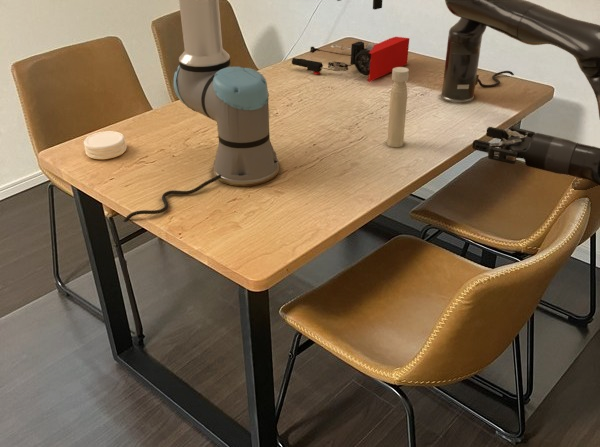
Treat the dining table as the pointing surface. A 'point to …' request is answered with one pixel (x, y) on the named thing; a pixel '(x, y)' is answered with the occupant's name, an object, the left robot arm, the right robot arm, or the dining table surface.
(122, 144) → the white round disc
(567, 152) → the right robot arm
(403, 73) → the cap
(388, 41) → the electric hoist
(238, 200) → the dining table surface
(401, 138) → the bottle
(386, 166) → the dining table surface
